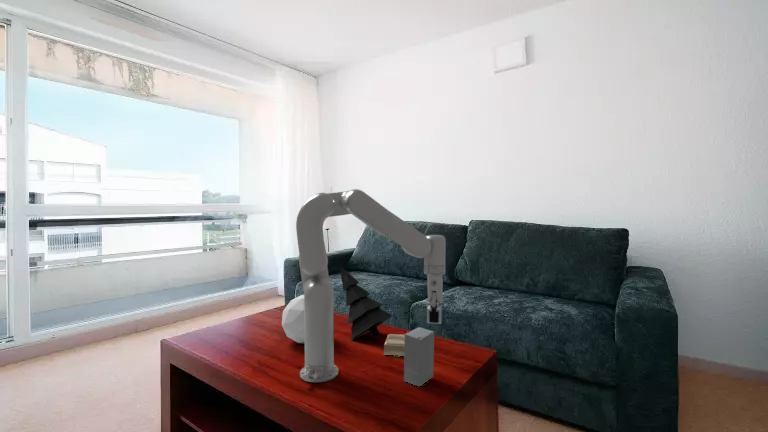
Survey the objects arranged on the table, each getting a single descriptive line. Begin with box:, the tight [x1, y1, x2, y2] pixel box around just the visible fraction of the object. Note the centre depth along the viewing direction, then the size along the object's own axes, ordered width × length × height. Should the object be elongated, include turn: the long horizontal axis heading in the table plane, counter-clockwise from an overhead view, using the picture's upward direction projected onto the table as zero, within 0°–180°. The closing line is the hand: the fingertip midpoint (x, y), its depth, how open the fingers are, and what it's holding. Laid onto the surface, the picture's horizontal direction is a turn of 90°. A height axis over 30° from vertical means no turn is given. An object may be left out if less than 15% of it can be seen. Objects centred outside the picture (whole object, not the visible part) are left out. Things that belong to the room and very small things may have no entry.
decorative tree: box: [339, 264, 393, 341], centre depth 158 cm, size 15×15×35 cm
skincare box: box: [403, 326, 435, 387], centre depth 115 cm, size 8×7×16 cm
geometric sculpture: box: [281, 294, 305, 344], centre depth 150 cm, size 19×20×20 cm
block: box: [426, 304, 443, 325], centre depth 130 cm, size 5×5×5 cm
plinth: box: [383, 333, 405, 357], centre depth 141 cm, size 12×12×4 cm
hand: (434, 319), depth 130 cm, fingers closed on block, 5 cm apart
